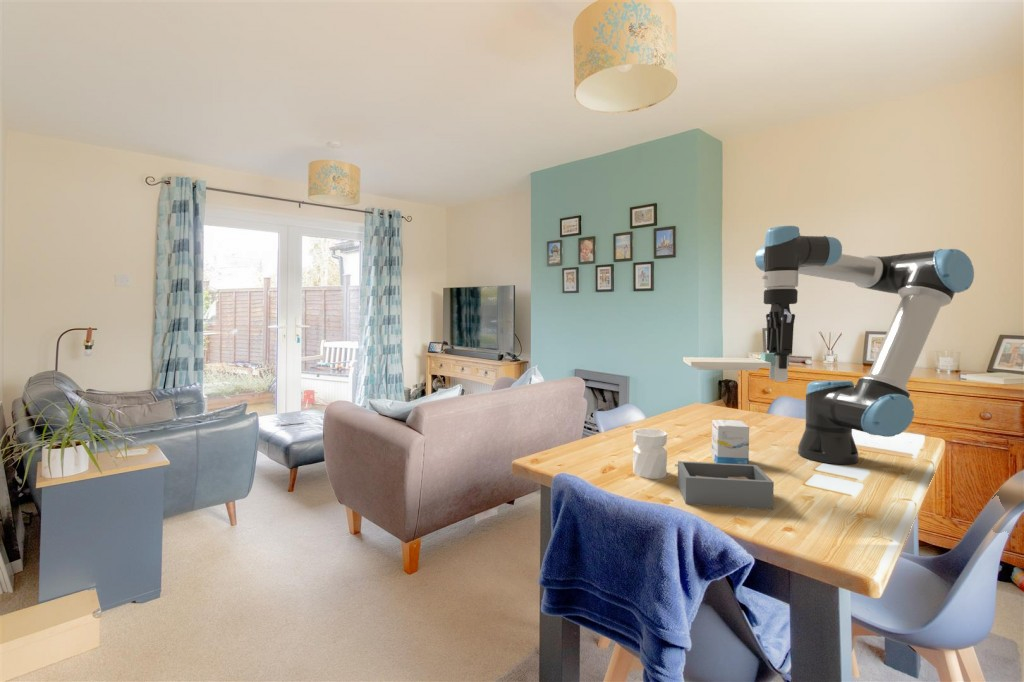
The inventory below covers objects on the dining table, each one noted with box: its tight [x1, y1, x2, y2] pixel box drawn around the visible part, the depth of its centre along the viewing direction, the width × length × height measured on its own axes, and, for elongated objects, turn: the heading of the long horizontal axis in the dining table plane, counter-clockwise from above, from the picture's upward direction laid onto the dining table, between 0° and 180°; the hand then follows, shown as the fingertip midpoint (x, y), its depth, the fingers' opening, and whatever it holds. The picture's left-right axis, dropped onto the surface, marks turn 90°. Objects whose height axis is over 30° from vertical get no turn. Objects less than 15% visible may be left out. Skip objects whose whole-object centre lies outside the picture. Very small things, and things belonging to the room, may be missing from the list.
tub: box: [677, 460, 775, 510], centre depth 111 cm, size 18×12×7 cm, turn 79°
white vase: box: [632, 428, 668, 480], centre depth 128 cm, size 9×9×12 cm
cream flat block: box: [682, 352, 790, 372], centre depth 125 cm, size 24×13×4 cm, turn 79°
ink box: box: [710, 419, 750, 465], centre depth 140 cm, size 8×8×12 cm
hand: (778, 380), depth 124 cm, fingers closed on cream flat block, 3 cm apart
